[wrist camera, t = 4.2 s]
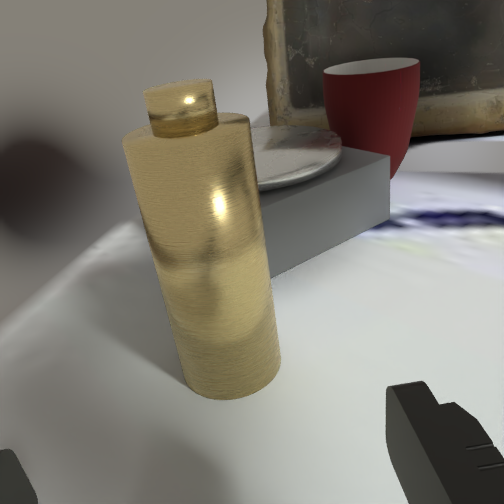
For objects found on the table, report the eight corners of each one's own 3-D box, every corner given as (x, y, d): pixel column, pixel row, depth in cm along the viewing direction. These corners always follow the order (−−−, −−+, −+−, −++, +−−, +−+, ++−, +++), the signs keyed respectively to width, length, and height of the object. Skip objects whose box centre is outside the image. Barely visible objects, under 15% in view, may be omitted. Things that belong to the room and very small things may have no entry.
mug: (336, 157, 51) (332, 59, 46) (414, 154, 48) (418, 50, 44) (322, 194, 42) (315, 78, 37) (417, 192, 40) (422, 68, 35)
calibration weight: (244, 320, 27) (201, 71, 20) (301, 363, 23) (270, 74, 17) (167, 361, 24) (91, 95, 18) (216, 417, 21) (143, 105, 14)
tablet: (271, 164, 52) (239, -115, 40) (273, 133, 64) (249, -89, 52) (585, 130, 48) (650, -188, 36) (523, 103, 60) (558, -141, 49)
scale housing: (273, 180, 47) (267, 131, 45) (389, 218, 36) (390, 155, 33) (146, 228, 40) (132, 173, 38) (241, 292, 29) (229, 221, 27)
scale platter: (270, 130, 43) (269, 119, 43) (380, 151, 33) (380, 137, 33) (142, 170, 37) (139, 157, 37) (230, 210, 27) (228, 194, 27)
